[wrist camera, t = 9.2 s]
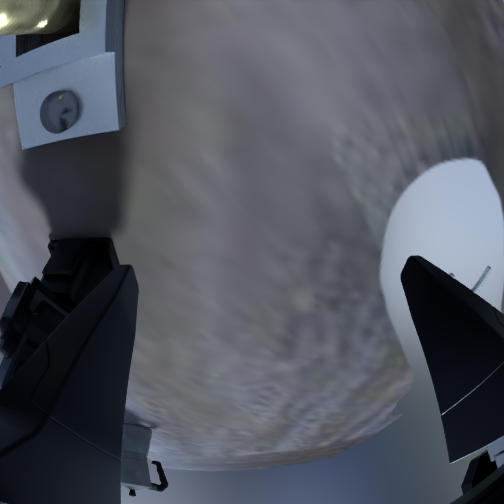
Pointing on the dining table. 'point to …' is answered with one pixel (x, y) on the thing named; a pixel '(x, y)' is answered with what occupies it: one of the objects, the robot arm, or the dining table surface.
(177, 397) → the dining table surface
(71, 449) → the robot arm
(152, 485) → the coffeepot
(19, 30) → the pin
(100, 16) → the slotted mounting bracket
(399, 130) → the dining table surface
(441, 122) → the dining table surface
